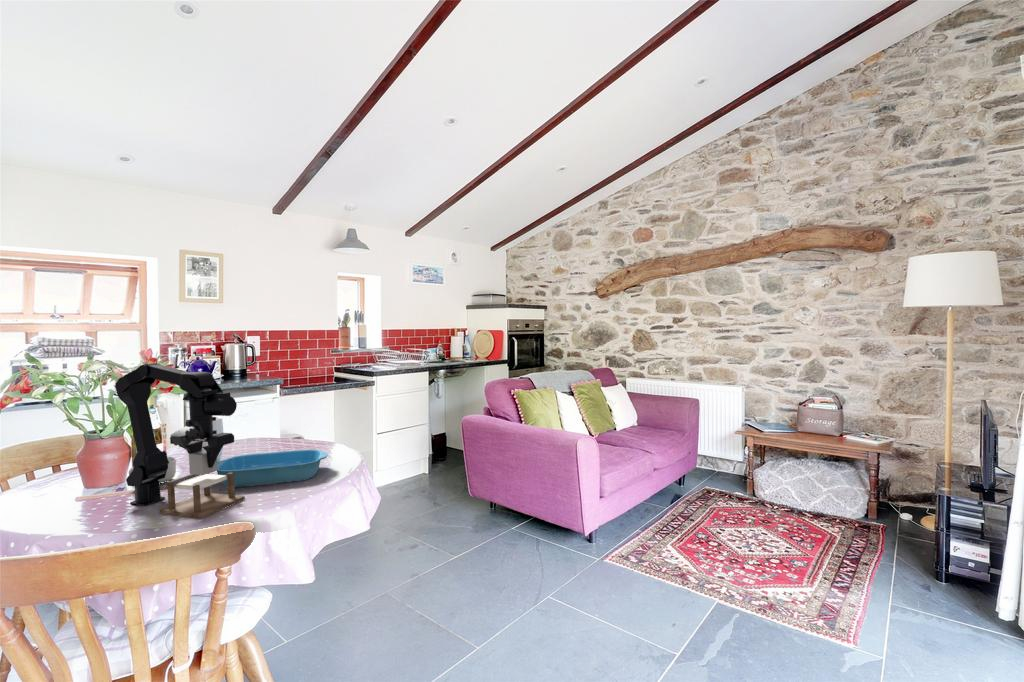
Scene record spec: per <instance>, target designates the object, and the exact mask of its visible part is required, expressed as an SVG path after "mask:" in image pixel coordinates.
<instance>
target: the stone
mask: <svg viewBox="0 0 1024 682" xmlns="http://www.w3.org/2000/svg"><path fill="white" fill-rule="evenodd" d="M188 465H189V466H188V467H189V475H190V474H194V475H199V476H202V475H205V474H208V473H210V474H212V473H214V471H215V472H217V470H218V468H217V459H216V461H215V463H214V465H213V467H212V468H209V467H208V461H207V452H206V450H201V451H198V452H194V453H191V454H188Z"/></svg>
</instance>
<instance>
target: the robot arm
mask: <svg viewBox="0 0 1024 682" xmlns="http://www.w3.org/2000/svg"><path fill="white" fill-rule="evenodd" d="M157 381H161V382H165V383H169V384H172V385H176V386H178V387H179V389H180V390H181V391H183V392H185V393H187V394H186V395H184V397H183V398H182V400H183V401H188V405H189V406H188V409H189V419H187V420H186V421H185V426H183V427H181V428H179V429H178V430H176V431H174V432H173V433H172V434H171V433H170V435H169V436H170V437H169V440H170V441H169V443H170V445H174V446H178V447H180V448H182V449H184V450H186V452H187V454H188V455H189V454H191V453H194V452H198V451H201V450H202V448H203V449H204V450H206V452H207V461H208V467H209V468H212V467H213V465H214V463H215V461H216V459H217V457H218V455H219V453H220V451H221V449H222V447H223V448H224V446H226V445H229V444H233V443H235V435H234V434H233V433H232V432H224V433H220V434H217V430H213V421H215V420H216V417H213V416H219V417H230V416H232V415H234V413H235V412H236V410H237V406H238V404H237V402H236V400H235V398H234V397H233V396H231V392H230V391H229V392H228V391H227V392H224V391H223V390H222V388H221V387H220V384H219V383H218V382H217V381H216V379H215V377H214V375H213V374H212V373H211V372H209V371H186V370H182V369H178V368H174V367H170V366H167V365H163V364H160V363H157V362H151V363H143V364H141V365H140V366H138V367H137V368H136V369H134V370H132V371H130V372H127V373H126V374H124V375H123V376H121V377H119V378H118V379H117V381H116V382H115V383H114V384H115V385H114V387H115V392H116V394H117V396H118V400H120V401H121V402H122V403H124V405H126V407H127V411H128V414H129V420H130V425H131V429H132V434H133V438H134V443H135V448H136V449H135V450H136V453H135V456H134V459H133V461H132V467H133V471H132V472H131V474H130V475H129V474H128V476H127V477H126V479H125V481H126V485H127V486H128V487H134V498H135V500H133V501H131V502H130V505H134V504H136V505H135V506H143V505H146V506H148V504H149V505H152V504H155V503H157V502H159V501H162V500H165V499H166V497H165V496H161V494H162V493H161V486H160V485H161V484H159V481H158V480H160V479H164V478H165V476H166V472H167V469H168V463H169V461H168V459H167V457H168V453H167V451H166V450H163V451H162V450H161V449H159V448H158V446H157V442H156V437H155V433H154V428H153V423H152V418H151V414H150V413H151V412H150V410H149V405H148V400H149V399H150V396H151V394H152V387H151V386H153V385H154V384H155V383H156V382H157ZM214 434H216V435H214ZM205 438H206V439H205ZM203 442H208V446H204V447H202V445H203ZM151 503H152V504H151Z"/></svg>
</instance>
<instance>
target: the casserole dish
mask: <svg viewBox="0 0 1024 682" xmlns="http://www.w3.org/2000/svg"><path fill="white" fill-rule="evenodd" d="M328 454H329V453H328V452H326V451H322V450H321V449H300V450H299V449H297V450H296V449H295V450H286V451H285V450H283V451H271V452H261V453H260V452H259V453H249V454H242V455H241V454H240V455H236V456H235V455H234V456H231V457H228V458H225V459H223V460H222V459H221V460H220V461H219V462H217V468H218V470H217V471H216V473H217V475H226V476H227V474H228V473H234V488H244V487H245V486H246V487H254V485H257V486H265V485H264V484H267V485H274V484H273V483H278V484H283V483H282V482H287V483H292V482H291V481H295V482H299V481H298V480H302V481H305V480H304V479H307V480H309V479H308V478H310V479H312V478H313V477H314V476H315V475H316V474H317V472H318V470H319V468H320V464H321V460H325V459H327V457H328ZM311 477H312V478H311ZM220 483H222V485H224V486H226V487H227V488H228V477H227V480H224V481H221V482H220Z"/></svg>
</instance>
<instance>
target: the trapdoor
mask: <svg viewBox="0 0 1024 682" xmlns="http://www.w3.org/2000/svg"><path fill="white" fill-rule="evenodd" d="M224 480H227V476H226V475H218V474H214V473H213V474H212V473H210V474H205V475H199V476H197V477H194V478H191V479H188V480H185V481H182V482H179V483H176V484H175V485H176V489H180V490H191V491H193V486H195V485H200V490H202V489H203V490H204V488H205V487H208V486H210V487H211V486H213V485H216V484H219V483H222V482H221V481H224Z"/></svg>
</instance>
